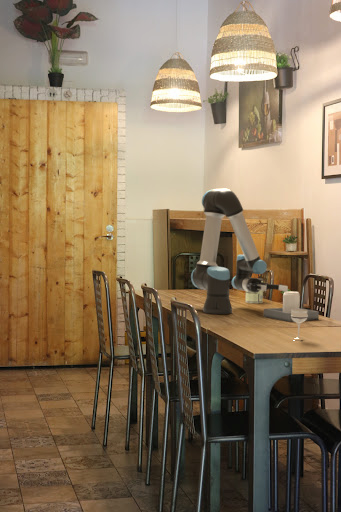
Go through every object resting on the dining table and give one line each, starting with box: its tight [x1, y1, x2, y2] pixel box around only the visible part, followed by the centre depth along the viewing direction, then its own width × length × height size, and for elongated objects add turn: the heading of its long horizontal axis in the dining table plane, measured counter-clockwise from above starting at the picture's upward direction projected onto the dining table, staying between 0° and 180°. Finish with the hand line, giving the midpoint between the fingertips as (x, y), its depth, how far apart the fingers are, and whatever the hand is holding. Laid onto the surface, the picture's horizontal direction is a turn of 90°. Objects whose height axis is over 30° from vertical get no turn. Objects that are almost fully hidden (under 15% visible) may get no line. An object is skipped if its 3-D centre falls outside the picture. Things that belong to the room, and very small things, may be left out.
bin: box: [263, 307, 319, 323], centre depth 354 cm, size 19×19×4 cm
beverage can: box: [282, 290, 301, 313], centre depth 354 cm, size 8×8×12 cm
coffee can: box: [244, 277, 264, 304], centre depth 422 cm, size 10×10×14 cm
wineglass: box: [291, 308, 309, 339], centre depth 287 cm, size 7×7×12 cm
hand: (276, 288), depth 365 cm, fingers open, 13 cm apart
